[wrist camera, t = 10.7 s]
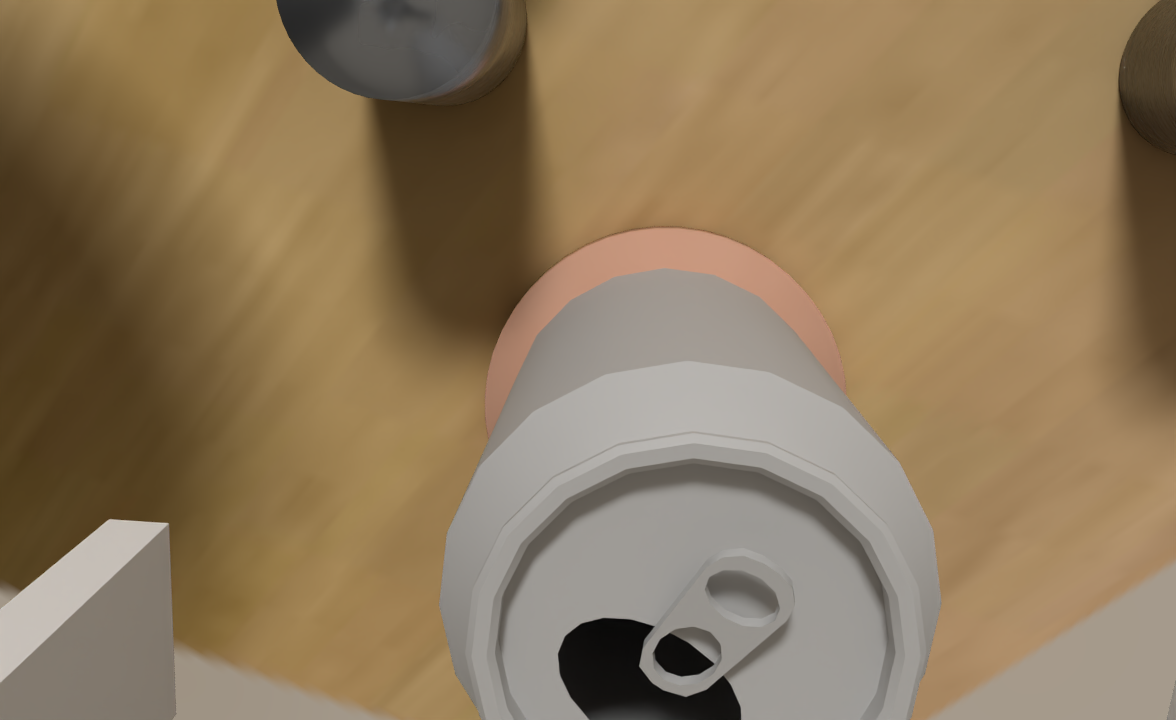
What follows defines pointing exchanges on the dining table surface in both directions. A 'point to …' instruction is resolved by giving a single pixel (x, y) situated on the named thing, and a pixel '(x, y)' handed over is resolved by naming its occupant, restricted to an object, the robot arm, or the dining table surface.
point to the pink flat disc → (645, 254)
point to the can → (686, 526)
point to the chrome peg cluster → (497, 32)
